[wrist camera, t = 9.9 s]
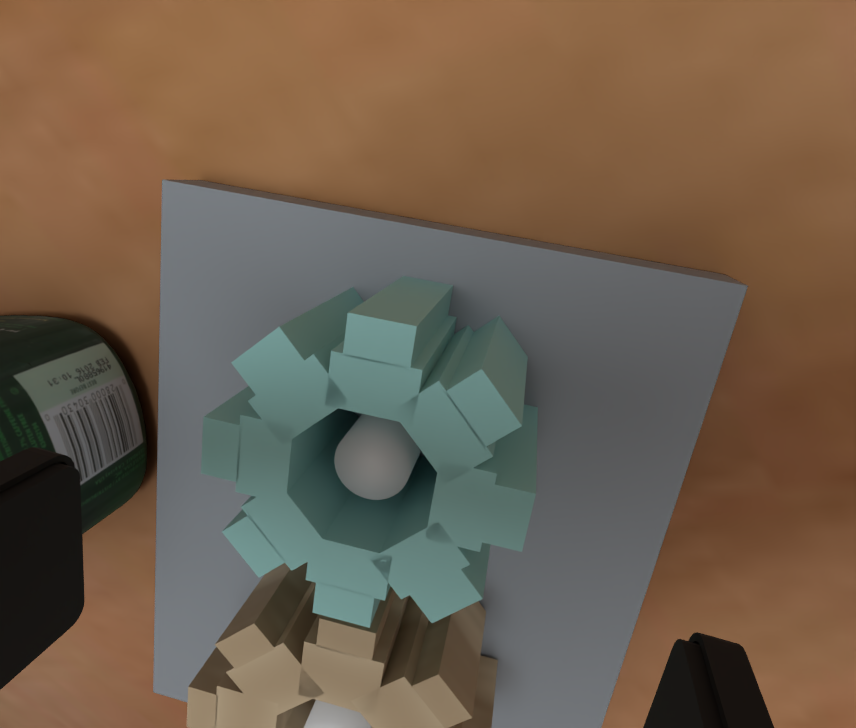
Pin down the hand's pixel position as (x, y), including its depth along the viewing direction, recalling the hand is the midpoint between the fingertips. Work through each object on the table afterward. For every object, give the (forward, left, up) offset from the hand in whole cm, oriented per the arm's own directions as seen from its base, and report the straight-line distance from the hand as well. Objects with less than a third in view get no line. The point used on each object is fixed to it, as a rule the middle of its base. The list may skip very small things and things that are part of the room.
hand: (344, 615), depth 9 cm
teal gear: (+1, 0, -9) cm, 9 cm away
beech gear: (+1, +9, -9) cm, 13 cm away
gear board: (+1, +5, -11) cm, 12 cm away
